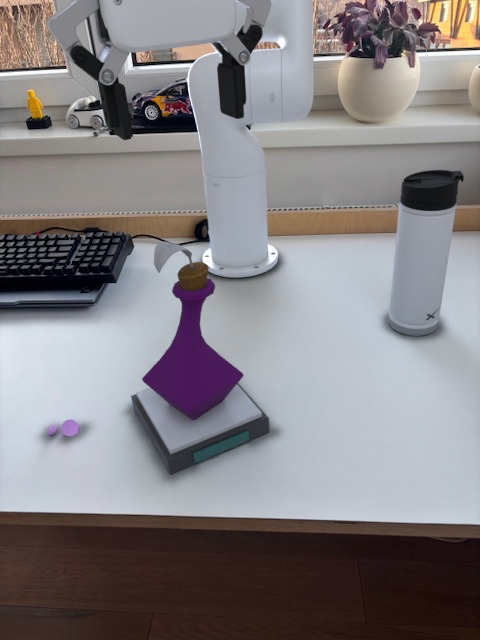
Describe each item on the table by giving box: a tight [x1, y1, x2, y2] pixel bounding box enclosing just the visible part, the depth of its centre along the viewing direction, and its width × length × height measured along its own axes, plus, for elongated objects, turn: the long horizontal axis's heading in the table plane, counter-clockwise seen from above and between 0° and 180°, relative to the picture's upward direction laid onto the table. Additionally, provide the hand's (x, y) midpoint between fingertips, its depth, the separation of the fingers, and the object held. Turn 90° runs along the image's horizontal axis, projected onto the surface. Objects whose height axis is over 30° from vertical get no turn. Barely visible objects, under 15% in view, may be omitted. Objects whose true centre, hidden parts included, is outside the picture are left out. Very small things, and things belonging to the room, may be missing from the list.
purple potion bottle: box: [141, 241, 244, 420], centre depth 52 cm, size 8×8×18 cm
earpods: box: [46, 419, 80, 437], centre depth 58 cm, size 3×2×2 cm
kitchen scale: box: [130, 382, 270, 475], centre depth 57 cm, size 11×11×3 cm
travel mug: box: [387, 169, 465, 337], centre depth 66 cm, size 6×7×20 cm
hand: (179, 125), depth 44 cm, fingers open, 9 cm apart
